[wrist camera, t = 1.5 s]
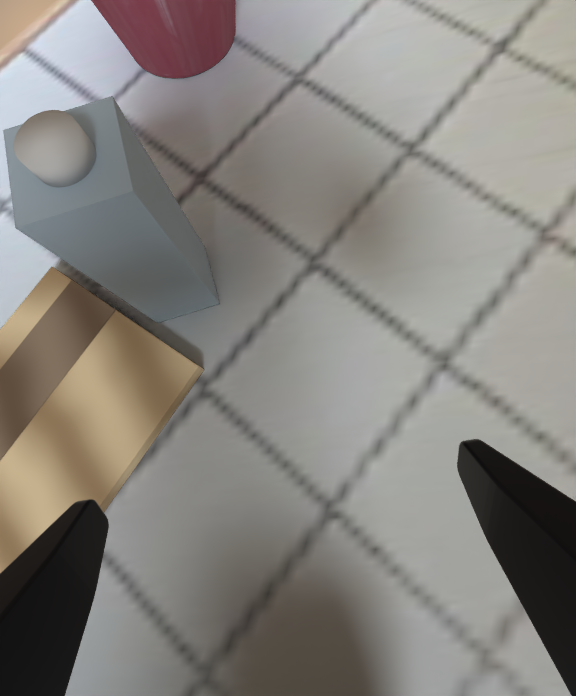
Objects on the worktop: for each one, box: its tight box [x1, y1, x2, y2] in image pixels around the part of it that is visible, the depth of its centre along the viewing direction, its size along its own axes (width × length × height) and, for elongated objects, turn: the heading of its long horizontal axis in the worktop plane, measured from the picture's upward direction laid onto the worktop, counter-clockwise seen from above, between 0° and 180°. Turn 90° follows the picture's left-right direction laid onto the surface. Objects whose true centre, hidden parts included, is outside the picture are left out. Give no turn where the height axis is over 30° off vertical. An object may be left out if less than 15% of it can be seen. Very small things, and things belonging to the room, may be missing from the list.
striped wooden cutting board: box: [0, 267, 204, 573], centre depth 23 cm, size 17×13×1 cm
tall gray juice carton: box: [3, 96, 220, 323], centre depth 19 cm, size 4×4×13 cm
